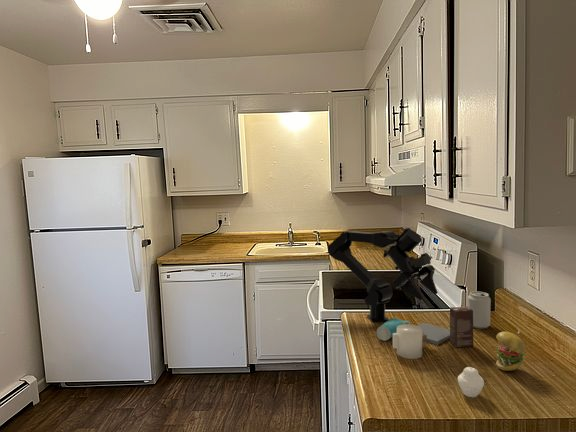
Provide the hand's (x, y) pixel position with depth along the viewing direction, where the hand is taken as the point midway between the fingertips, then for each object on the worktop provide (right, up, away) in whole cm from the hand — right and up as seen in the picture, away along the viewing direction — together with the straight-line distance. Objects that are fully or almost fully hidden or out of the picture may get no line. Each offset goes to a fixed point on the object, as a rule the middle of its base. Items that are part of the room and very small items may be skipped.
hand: (429, 296), depth 141 cm
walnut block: (-6, -15, -7) cm, 17 cm away
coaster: (+1, -14, +1) cm, 14 cm away
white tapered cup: (-11, -15, -13) cm, 22 cm away
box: (+8, -14, -7) cm, 18 cm away
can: (+21, -12, +9) cm, 26 cm away
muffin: (-2, -18, -37) cm, 41 cm away
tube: (-17, -12, -4) cm, 21 cm away
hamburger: (+14, -16, -24) cm, 32 cm away
